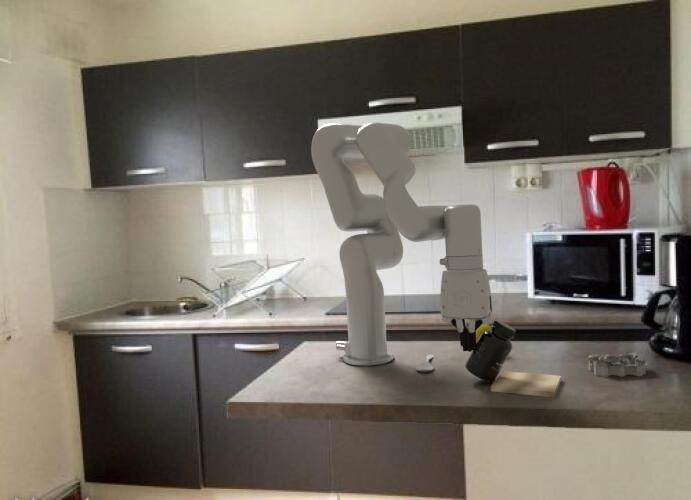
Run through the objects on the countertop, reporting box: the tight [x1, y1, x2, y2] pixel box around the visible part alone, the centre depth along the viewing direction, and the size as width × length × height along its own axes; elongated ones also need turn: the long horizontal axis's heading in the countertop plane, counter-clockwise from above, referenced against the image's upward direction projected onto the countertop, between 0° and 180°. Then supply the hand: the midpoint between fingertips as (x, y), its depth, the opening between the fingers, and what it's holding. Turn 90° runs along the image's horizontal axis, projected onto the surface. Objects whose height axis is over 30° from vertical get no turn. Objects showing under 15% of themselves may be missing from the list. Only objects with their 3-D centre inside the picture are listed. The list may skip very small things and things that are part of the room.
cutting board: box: [490, 370, 562, 398], centre depth 113 cm, size 12×11×1 cm
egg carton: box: [586, 351, 649, 378], centre depth 119 cm, size 11×8×4 cm
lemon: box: [476, 324, 491, 343], centre depth 139 cm, size 6×6×8 cm
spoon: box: [415, 354, 435, 373], centre depth 135 cm, size 4×21×2 cm, turn 165°
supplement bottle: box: [464, 319, 517, 383], centre depth 116 cm, size 7×7×12 cm
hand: (468, 349), depth 118 cm, fingers closed
